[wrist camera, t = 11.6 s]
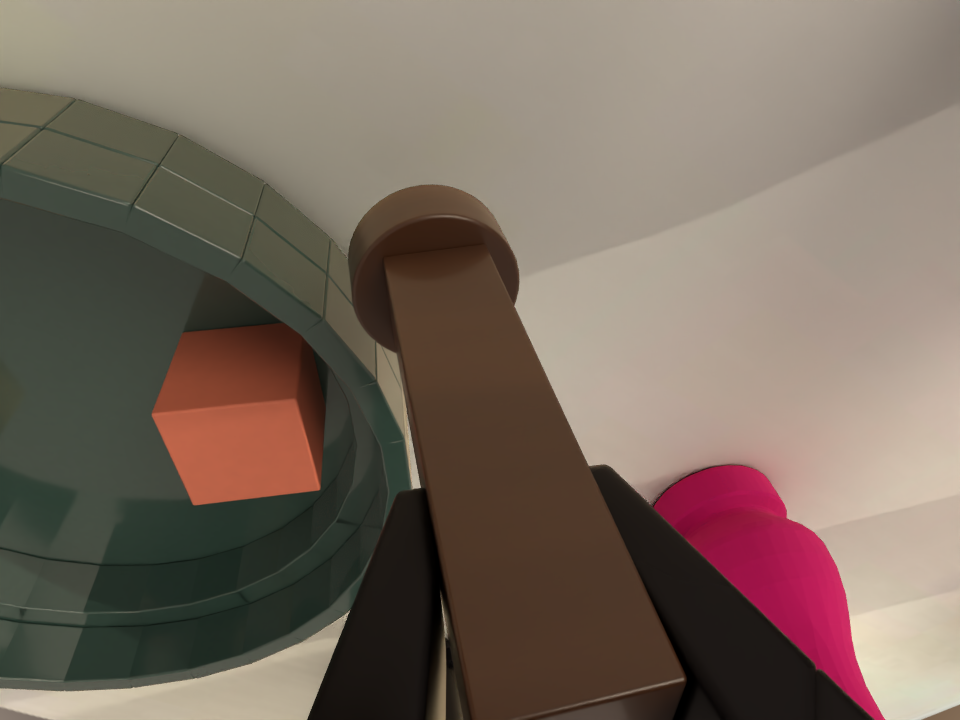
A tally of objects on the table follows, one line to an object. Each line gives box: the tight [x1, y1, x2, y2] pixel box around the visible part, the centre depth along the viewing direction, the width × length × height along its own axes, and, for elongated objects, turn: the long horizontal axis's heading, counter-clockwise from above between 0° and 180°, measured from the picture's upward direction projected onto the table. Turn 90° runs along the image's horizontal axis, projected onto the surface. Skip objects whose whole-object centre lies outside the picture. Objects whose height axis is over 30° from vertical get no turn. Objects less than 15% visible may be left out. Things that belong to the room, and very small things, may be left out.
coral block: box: [152, 323, 326, 505], centre depth 21 cm, size 4×4×4 cm
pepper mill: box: [653, 465, 885, 720], centre depth 24 cm, size 7×7×20 cm
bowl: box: [0, 87, 412, 691], centre depth 21 cm, size 22×22×5 cm
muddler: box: [348, 185, 687, 720], centre depth 10 cm, size 3×3×10 cm
